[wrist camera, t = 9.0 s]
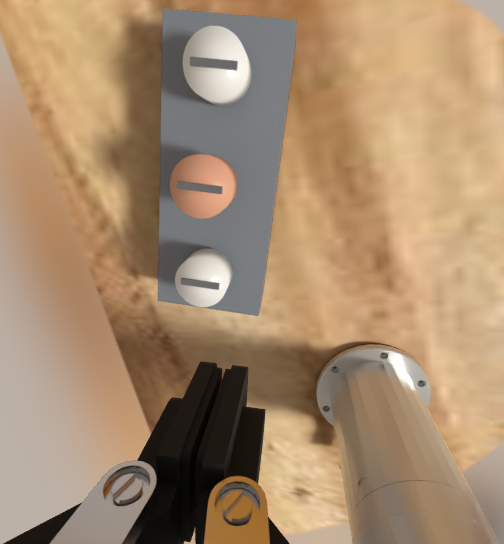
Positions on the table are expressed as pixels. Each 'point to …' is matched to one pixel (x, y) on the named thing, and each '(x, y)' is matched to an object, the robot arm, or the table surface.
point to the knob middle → (203, 185)
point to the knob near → (217, 66)
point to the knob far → (204, 277)
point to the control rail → (225, 152)
